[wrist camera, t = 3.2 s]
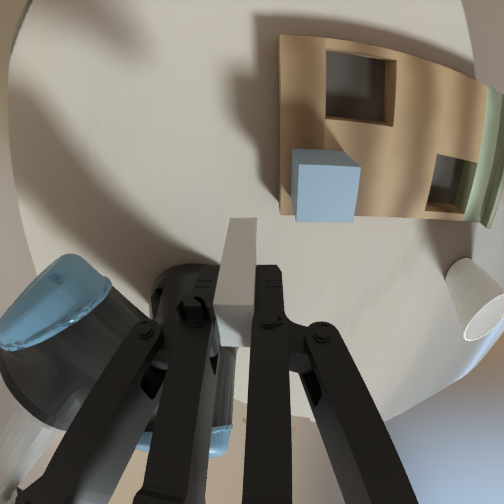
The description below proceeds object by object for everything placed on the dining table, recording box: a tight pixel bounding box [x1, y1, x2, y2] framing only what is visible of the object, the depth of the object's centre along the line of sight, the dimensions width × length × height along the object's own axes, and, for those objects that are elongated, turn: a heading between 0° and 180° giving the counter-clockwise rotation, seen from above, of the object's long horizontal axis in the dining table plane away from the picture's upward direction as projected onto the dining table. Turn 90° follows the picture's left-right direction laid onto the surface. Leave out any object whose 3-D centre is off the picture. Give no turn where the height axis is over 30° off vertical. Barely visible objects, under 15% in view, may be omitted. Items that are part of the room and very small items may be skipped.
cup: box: [446, 258, 504, 341], centre depth 31 cm, size 10×10×11 cm
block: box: [291, 149, 361, 222], centre depth 23 cm, size 5×5×5 cm
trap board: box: [278, 35, 504, 229], centre depth 23 cm, size 29×18×4 cm, turn 92°
